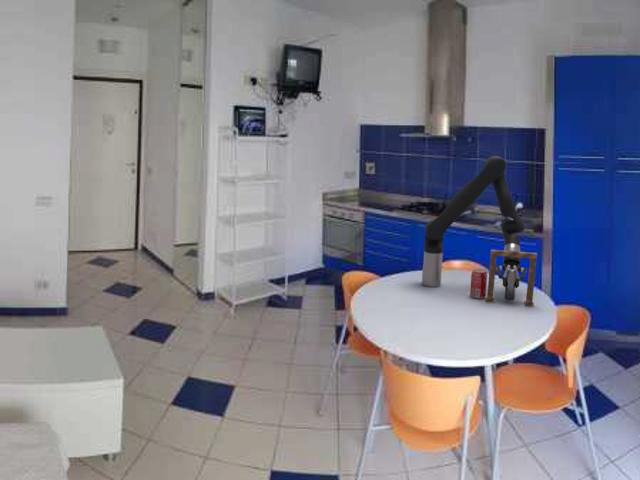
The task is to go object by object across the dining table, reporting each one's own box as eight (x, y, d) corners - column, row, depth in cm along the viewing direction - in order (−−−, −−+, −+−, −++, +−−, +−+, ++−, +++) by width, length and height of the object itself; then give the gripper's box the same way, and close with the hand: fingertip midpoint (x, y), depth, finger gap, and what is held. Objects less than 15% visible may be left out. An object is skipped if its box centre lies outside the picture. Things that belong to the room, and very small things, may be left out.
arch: (485, 301, 244) (489, 251, 239) (485, 298, 249) (489, 249, 244) (533, 306, 238) (539, 255, 233) (533, 303, 242) (538, 252, 238)
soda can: (486, 299, 247) (488, 273, 244) (470, 298, 248) (472, 272, 246) (484, 295, 254) (486, 269, 251) (469, 294, 255) (471, 268, 252)
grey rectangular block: (504, 300, 242) (507, 270, 239) (504, 297, 247) (506, 268, 244) (514, 301, 241) (517, 271, 238) (514, 298, 245) (516, 269, 242)
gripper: (496, 249, 249) (494, 281, 240) (528, 252, 245) (528, 284, 236) (495, 258, 255) (493, 289, 246) (526, 260, 251) (526, 292, 242)
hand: (510, 286), depth 241 cm, fingers closed on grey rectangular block, 4 cm apart
